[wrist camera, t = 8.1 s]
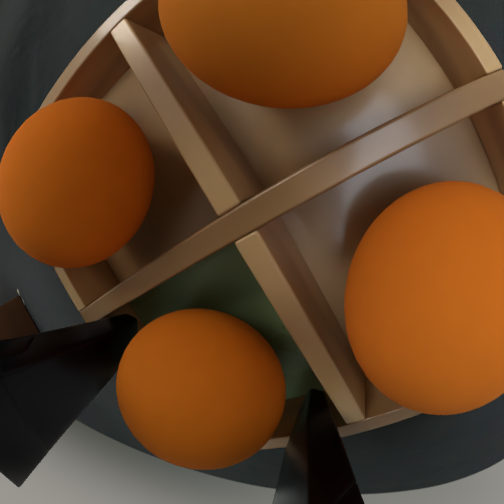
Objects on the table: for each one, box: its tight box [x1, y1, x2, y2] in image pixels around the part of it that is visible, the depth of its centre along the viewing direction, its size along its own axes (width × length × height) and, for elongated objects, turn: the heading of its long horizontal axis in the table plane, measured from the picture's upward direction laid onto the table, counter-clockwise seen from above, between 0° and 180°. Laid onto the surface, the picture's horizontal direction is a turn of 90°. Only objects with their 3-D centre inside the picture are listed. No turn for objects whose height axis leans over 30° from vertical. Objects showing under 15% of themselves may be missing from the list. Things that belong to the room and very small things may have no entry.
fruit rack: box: [38, 0, 504, 450], centre depth 7 cm, size 14×14×3 cm
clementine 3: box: [116, 308, 286, 470], centre depth 7 cm, size 5×5×5 cm
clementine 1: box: [0, 97, 155, 268], centre depth 6 cm, size 5×5×5 cm
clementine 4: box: [344, 181, 504, 415], centre depth 5 cm, size 5×5×5 cm
